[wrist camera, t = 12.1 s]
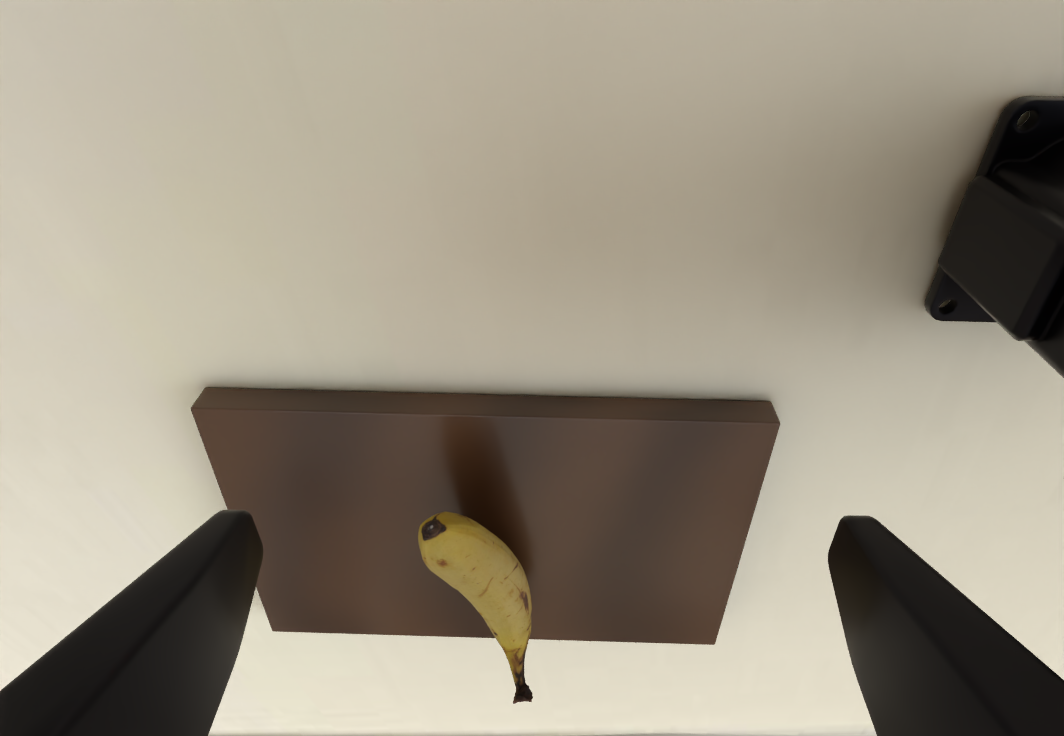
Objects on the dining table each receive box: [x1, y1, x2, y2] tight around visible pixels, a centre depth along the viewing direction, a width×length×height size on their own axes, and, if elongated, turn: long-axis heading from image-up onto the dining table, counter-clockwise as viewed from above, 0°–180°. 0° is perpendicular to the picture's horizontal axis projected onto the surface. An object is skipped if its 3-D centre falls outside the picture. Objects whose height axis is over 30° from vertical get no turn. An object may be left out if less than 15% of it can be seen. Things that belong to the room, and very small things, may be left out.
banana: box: [418, 512, 533, 704], centre depth 24 cm, size 10×2×4 cm, turn 16°
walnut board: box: [191, 388, 780, 645], centre depth 27 cm, size 20×13×1 cm, turn 89°
